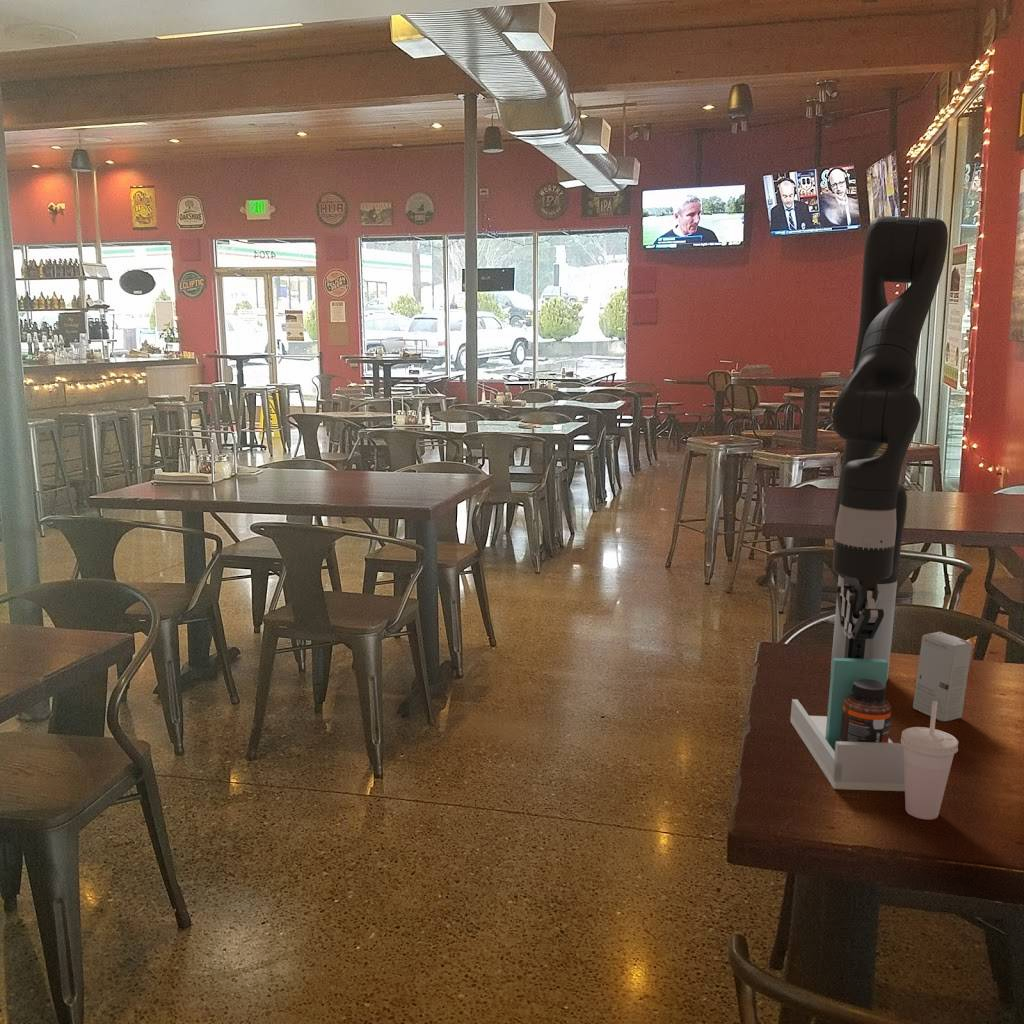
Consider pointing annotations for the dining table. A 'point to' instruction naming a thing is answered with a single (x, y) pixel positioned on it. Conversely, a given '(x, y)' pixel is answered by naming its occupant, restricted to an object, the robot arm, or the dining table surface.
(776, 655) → the dining table surface
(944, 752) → the smoothie
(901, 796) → the dining table surface
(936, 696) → the skincare box
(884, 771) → the lane
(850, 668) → the pusher
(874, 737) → the supplement bottle
